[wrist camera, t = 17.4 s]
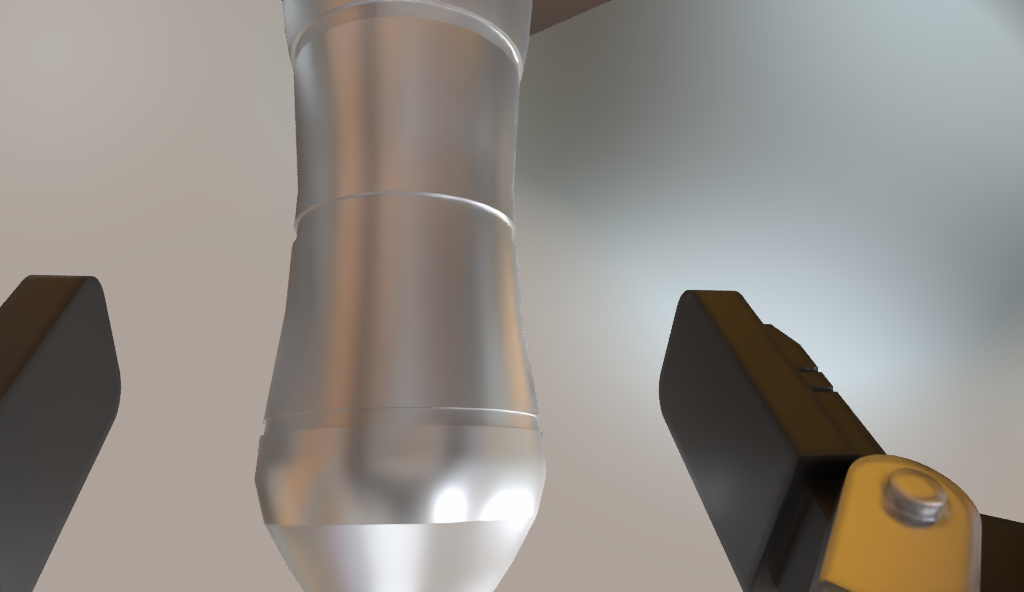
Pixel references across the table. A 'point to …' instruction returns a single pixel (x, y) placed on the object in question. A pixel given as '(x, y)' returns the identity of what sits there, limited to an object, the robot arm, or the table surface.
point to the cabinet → (557, 12)
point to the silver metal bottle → (403, 304)
